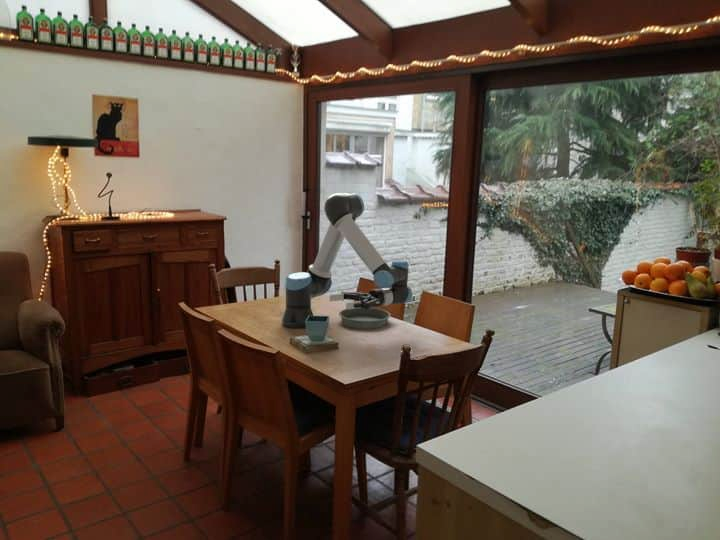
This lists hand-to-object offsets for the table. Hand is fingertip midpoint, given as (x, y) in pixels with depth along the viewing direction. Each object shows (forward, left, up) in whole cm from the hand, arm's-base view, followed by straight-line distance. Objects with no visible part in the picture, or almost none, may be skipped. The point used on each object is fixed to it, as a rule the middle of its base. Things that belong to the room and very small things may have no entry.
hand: (338, 302), depth 246 cm
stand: (-1, -11, -17) cm, 21 cm away
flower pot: (+1, -10, -15) cm, 18 cm away
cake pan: (-21, +27, -18) cm, 39 cm away
